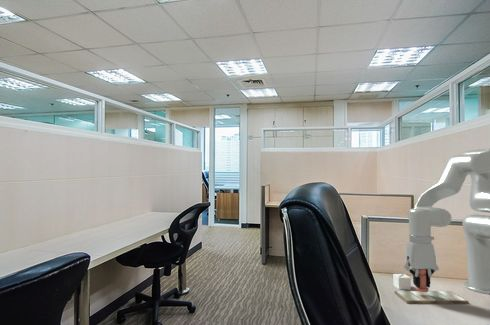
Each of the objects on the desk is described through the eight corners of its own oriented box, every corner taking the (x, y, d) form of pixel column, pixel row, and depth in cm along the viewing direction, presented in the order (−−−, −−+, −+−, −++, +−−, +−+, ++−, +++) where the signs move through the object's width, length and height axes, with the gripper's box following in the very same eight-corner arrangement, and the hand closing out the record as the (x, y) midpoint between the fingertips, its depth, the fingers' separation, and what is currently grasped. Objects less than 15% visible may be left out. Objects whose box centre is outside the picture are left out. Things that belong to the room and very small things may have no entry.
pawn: (424, 287, 119) (423, 264, 120) (430, 292, 115) (430, 268, 115) (413, 287, 119) (412, 264, 120) (419, 292, 115) (418, 268, 116)
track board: (451, 293, 122) (450, 290, 122) (468, 303, 112) (468, 300, 112) (394, 293, 122) (394, 290, 122) (407, 303, 112) (407, 300, 112)
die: (404, 285, 132) (404, 273, 132) (410, 289, 127) (410, 277, 127) (393, 285, 132) (393, 273, 132) (399, 289, 127) (398, 277, 127)
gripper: (435, 237, 122) (437, 283, 121) (395, 237, 122) (396, 282, 121) (447, 241, 114) (449, 289, 113) (404, 241, 115) (405, 289, 114)
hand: (421, 285), depth 117 cm, fingers closed on pawn, 3 cm apart
